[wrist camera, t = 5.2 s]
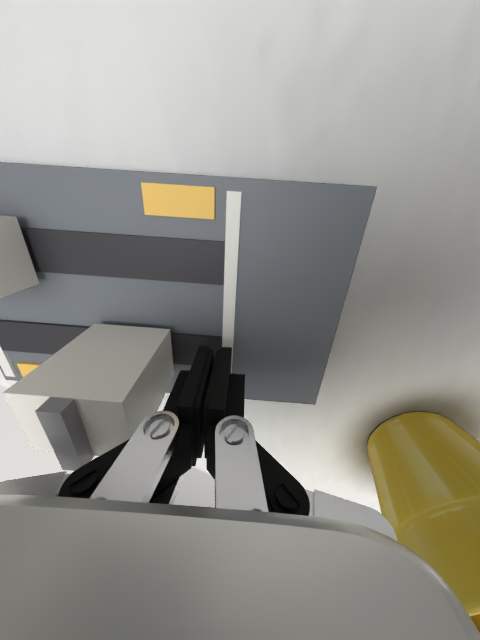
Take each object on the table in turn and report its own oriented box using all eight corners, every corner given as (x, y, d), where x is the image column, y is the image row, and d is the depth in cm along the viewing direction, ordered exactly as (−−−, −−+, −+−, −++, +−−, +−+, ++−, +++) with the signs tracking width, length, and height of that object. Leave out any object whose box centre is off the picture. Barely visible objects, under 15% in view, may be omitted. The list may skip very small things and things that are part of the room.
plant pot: (355, 389, 16) (473, 597, 8) (508, 391, 16) (819, 617, 7) (332, 475, 21) (389, 666, 12) (450, 479, 21) (597, 682, 12)
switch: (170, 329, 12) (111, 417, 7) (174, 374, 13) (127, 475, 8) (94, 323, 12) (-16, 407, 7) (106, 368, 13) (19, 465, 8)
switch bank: (356, 189, 11) (379, 186, 9) (308, 382, 16) (315, 406, 14) (-53, 162, 11) (-117, 154, 9) (32, 360, 17) (2, 381, 15)
